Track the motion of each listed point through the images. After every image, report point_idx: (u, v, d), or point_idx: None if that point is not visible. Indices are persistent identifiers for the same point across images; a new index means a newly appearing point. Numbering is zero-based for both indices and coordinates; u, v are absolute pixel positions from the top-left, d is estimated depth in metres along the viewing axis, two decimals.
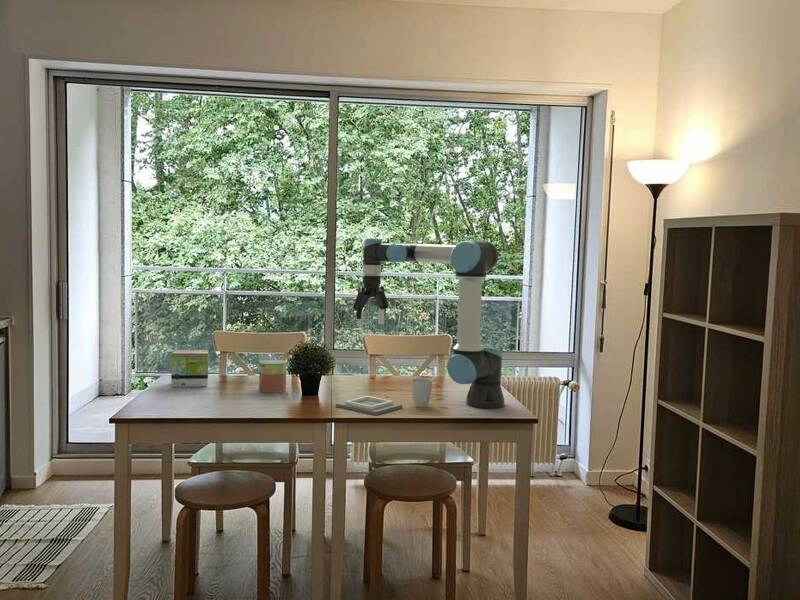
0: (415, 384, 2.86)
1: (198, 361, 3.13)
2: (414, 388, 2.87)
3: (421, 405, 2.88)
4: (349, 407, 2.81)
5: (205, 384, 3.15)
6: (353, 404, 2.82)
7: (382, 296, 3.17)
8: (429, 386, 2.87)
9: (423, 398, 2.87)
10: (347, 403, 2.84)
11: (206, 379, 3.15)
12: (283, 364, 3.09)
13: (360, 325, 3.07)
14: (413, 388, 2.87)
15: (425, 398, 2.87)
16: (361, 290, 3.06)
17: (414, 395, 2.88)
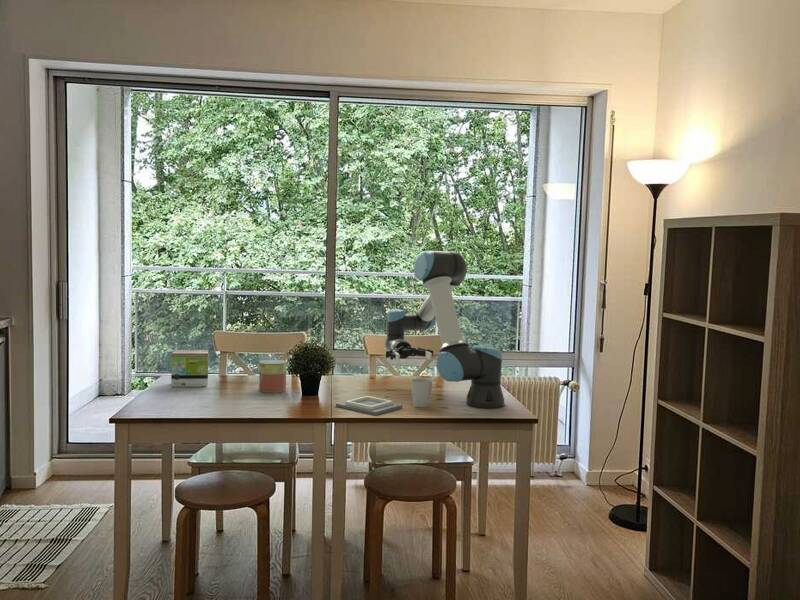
0: (415, 384, 2.86)
1: (198, 361, 3.13)
2: (414, 388, 2.87)
3: (421, 405, 2.88)
4: (349, 407, 2.81)
5: (205, 384, 3.15)
6: (353, 404, 2.82)
7: None
8: (429, 386, 2.87)
9: (423, 398, 2.87)
10: (347, 403, 2.84)
11: (206, 379, 3.15)
12: (283, 364, 3.09)
13: (397, 356, 2.97)
14: (413, 388, 2.87)
15: (425, 398, 2.87)
16: None
17: (414, 395, 2.88)
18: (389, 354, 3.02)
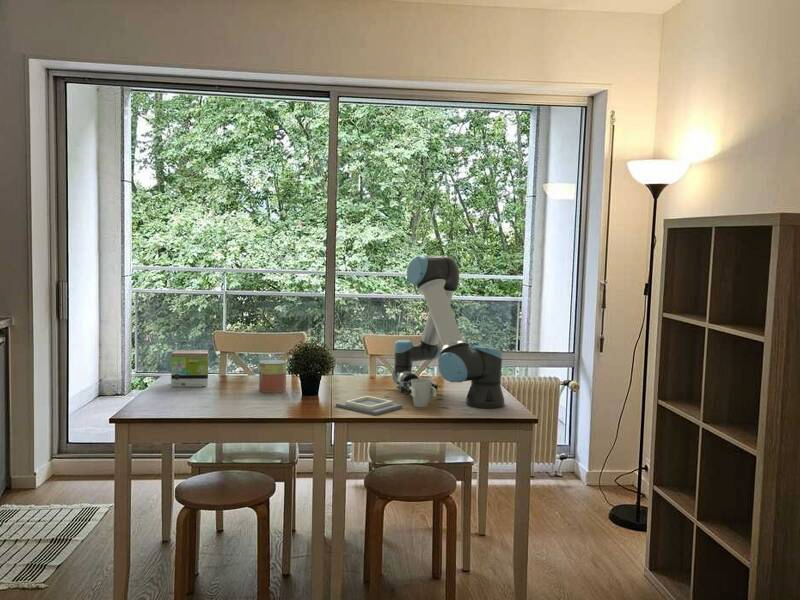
0: (415, 384, 2.86)
1: (198, 361, 3.13)
2: (414, 388, 2.87)
3: (421, 405, 2.88)
4: (349, 407, 2.81)
5: (205, 384, 3.15)
6: (353, 404, 2.82)
7: None
8: (429, 386, 2.87)
9: (423, 398, 2.87)
10: (347, 403, 2.84)
11: (206, 379, 3.15)
12: (283, 364, 3.09)
13: (413, 391, 2.84)
14: None
15: (425, 398, 2.87)
16: (398, 384, 2.98)
17: None
18: (404, 389, 2.90)
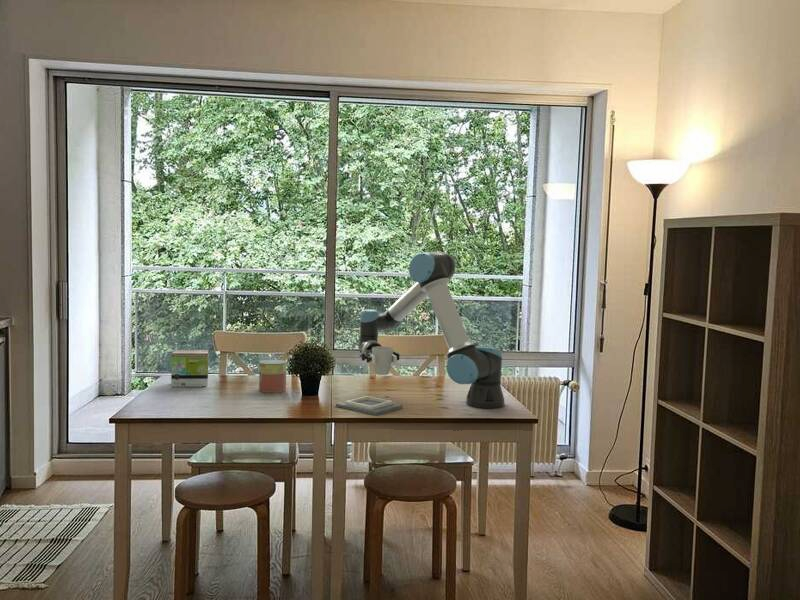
0: (376, 351, 2.84)
1: (198, 361, 3.13)
2: (374, 355, 2.84)
3: (381, 373, 2.85)
4: (349, 407, 2.81)
5: (205, 384, 3.15)
6: (353, 404, 2.82)
7: None
8: (390, 353, 2.84)
9: (383, 365, 2.84)
10: (347, 403, 2.84)
11: (206, 379, 3.15)
12: (283, 364, 3.09)
13: (373, 358, 2.82)
14: None
15: (385, 365, 2.84)
16: (360, 352, 2.96)
17: None
18: (365, 357, 2.87)
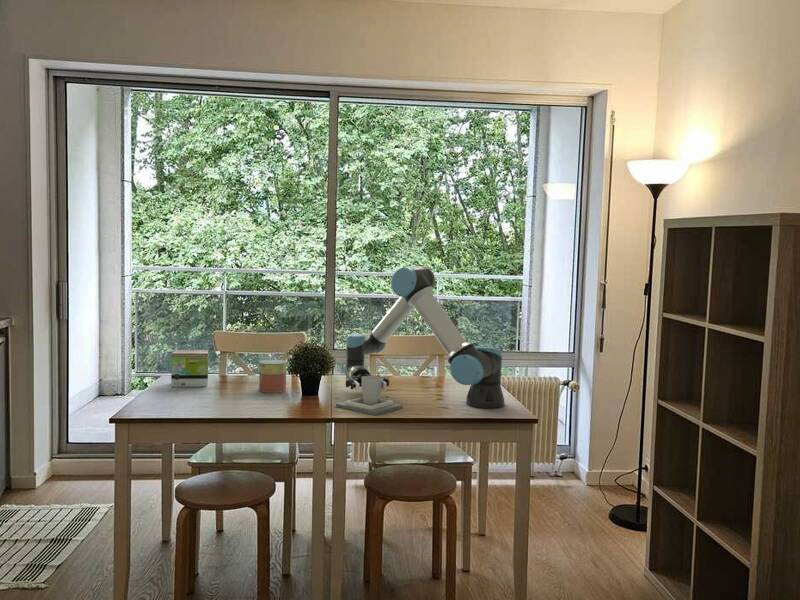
0: (365, 381, 2.82)
1: (198, 361, 3.13)
2: (364, 385, 2.83)
3: (370, 402, 2.83)
4: (349, 407, 2.81)
5: (205, 384, 3.15)
6: (353, 404, 2.82)
7: None
8: (379, 383, 2.83)
9: (372, 395, 2.82)
10: (347, 403, 2.84)
11: (206, 379, 3.15)
12: (283, 364, 3.09)
13: (357, 386, 2.80)
14: (363, 385, 2.83)
15: (374, 395, 2.83)
16: (346, 378, 2.94)
17: (363, 392, 2.83)
18: (349, 383, 2.85)
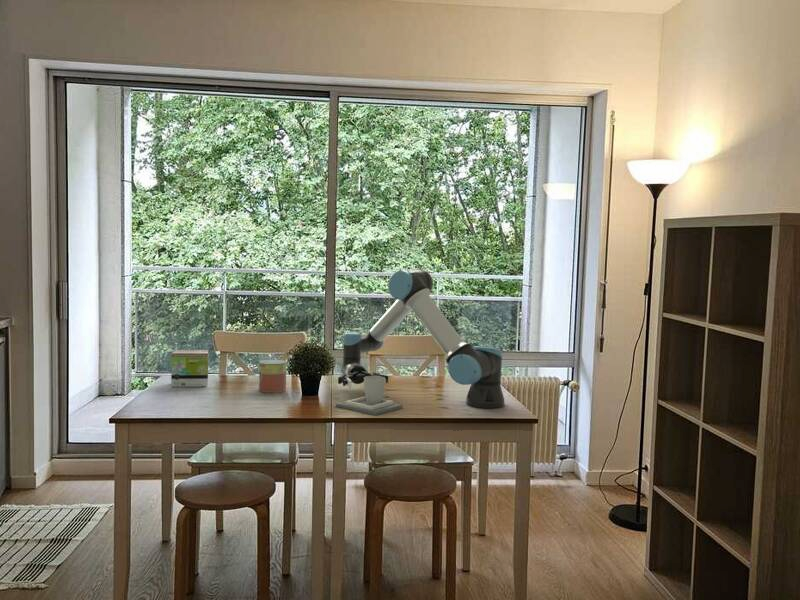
0: (367, 382, 2.83)
1: (198, 361, 3.13)
2: (366, 385, 2.83)
3: (373, 403, 2.84)
4: (349, 407, 2.81)
5: (205, 384, 3.15)
6: (353, 404, 2.82)
7: None
8: (381, 384, 2.83)
9: (375, 396, 2.83)
10: (347, 403, 2.84)
11: (206, 379, 3.15)
12: (283, 364, 3.09)
13: (349, 382, 2.85)
14: (365, 385, 2.84)
15: (377, 396, 2.83)
16: None
17: (366, 393, 2.84)
18: (341, 380, 2.91)
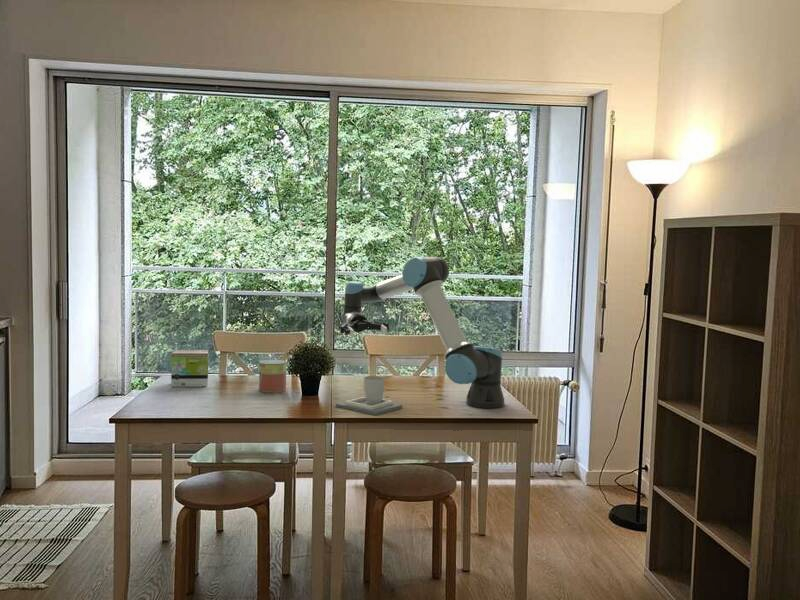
0: (367, 382, 2.83)
1: (198, 361, 3.13)
2: (366, 386, 2.83)
3: (373, 403, 2.84)
4: (349, 407, 2.81)
5: (205, 384, 3.15)
6: (353, 404, 2.82)
7: (378, 324, 3.06)
8: (381, 384, 2.83)
9: (375, 396, 2.83)
10: (347, 403, 2.84)
11: (206, 379, 3.15)
12: (283, 364, 3.09)
13: (351, 331, 2.91)
14: (365, 386, 2.84)
15: (377, 396, 2.83)
16: None
17: (366, 393, 2.84)
18: (343, 330, 2.97)
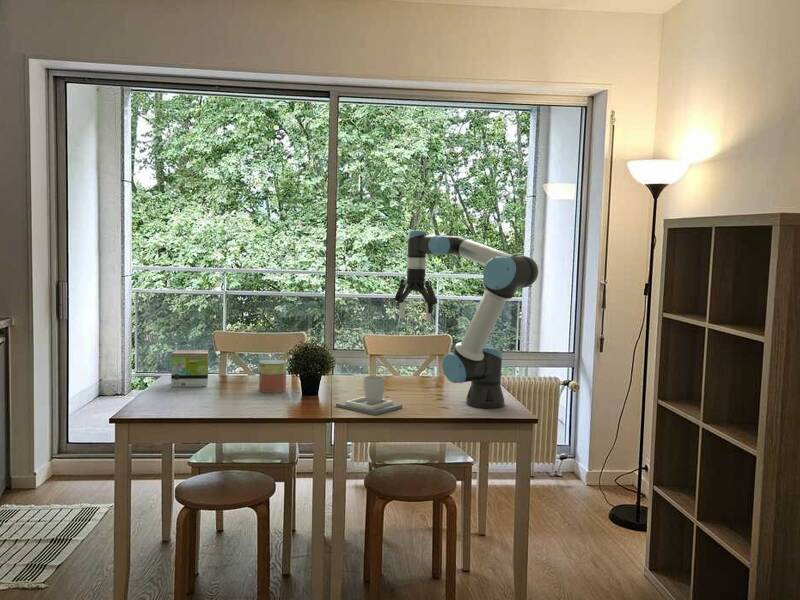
0: (367, 382, 2.83)
1: (198, 361, 3.13)
2: (366, 385, 2.83)
3: (373, 403, 2.84)
4: (349, 407, 2.81)
5: (205, 384, 3.15)
6: (353, 404, 2.82)
7: None
8: (381, 383, 2.83)
9: (375, 396, 2.83)
10: (347, 403, 2.84)
11: (206, 379, 3.15)
12: (283, 364, 3.09)
13: None
14: (365, 385, 2.84)
15: (377, 396, 2.83)
16: None
17: (366, 393, 2.84)
18: None
